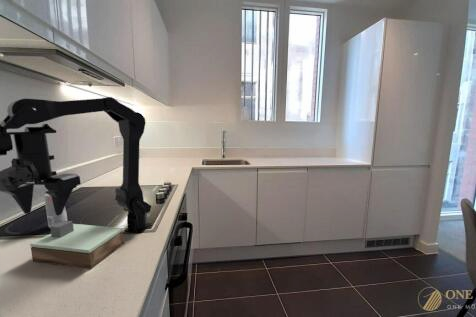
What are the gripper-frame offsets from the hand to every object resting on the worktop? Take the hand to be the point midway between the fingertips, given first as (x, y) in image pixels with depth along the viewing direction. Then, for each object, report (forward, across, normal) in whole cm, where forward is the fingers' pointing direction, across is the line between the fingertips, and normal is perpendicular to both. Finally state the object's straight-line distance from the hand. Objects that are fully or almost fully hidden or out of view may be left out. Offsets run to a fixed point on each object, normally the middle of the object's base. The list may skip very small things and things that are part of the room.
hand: (43, 214), depth 56 cm
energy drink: (+14, -19, +20) cm, 30 cm away
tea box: (+14, +4, +6) cm, 15 cm away
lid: (+9, +4, +6) cm, 11 cm away
